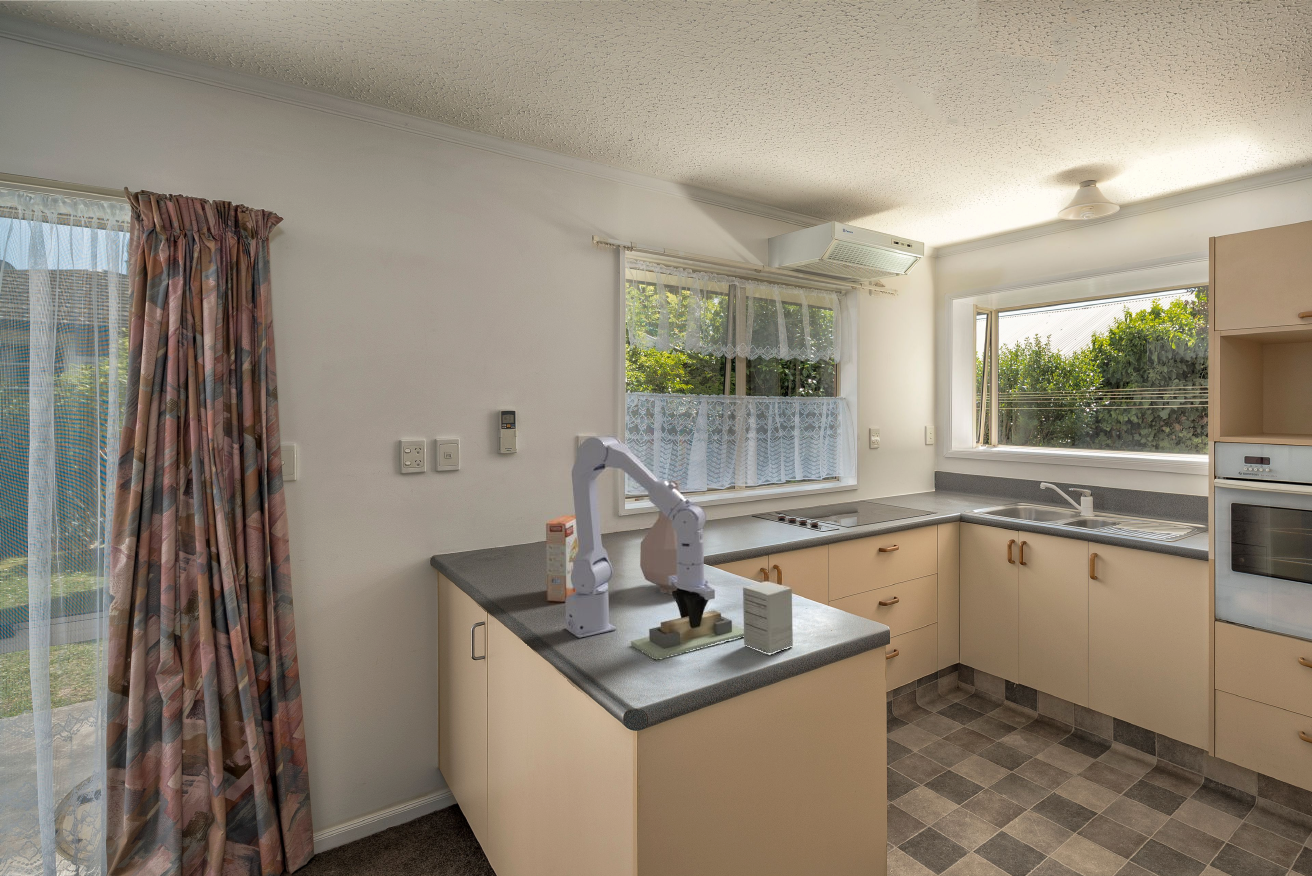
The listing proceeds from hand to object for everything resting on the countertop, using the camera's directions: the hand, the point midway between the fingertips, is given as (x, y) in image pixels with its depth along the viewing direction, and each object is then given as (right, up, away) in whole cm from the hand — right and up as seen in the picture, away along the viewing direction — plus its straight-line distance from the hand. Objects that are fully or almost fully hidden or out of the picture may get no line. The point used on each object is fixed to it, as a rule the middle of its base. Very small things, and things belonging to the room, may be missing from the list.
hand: (691, 624), depth 136 cm
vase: (-3, -2, +39) cm, 40 cm away
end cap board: (0, -3, 0) cm, 3 cm away
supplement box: (+16, -4, -4) cm, 17 cm away
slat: (0, -2, 0) cm, 2 cm away
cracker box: (-32, -3, +37) cm, 49 cm away
